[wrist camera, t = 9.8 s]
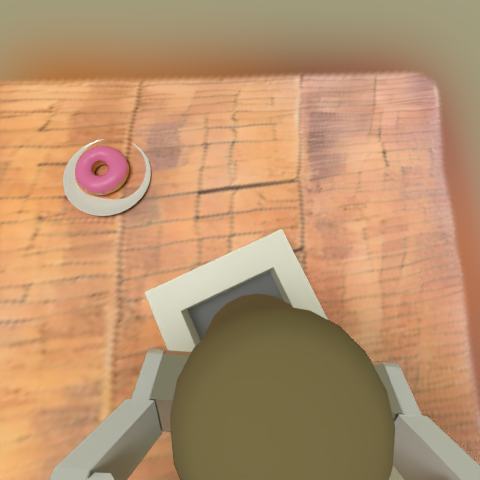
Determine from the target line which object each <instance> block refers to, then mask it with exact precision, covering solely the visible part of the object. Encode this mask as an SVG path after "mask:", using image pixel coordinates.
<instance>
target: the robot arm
mask: <svg viewBox="0 0 480 480" xmlns="http://www.w3.org/2000/svg"><path fill="white" fill-rule="evenodd" d="M190 354H191V352H187V351H172V350H159V349H149V351H148V352H147V354H146V357H145V360H144V363H143V366H142V368H141V371H140V374H139V377H138V380H137V383H136V386H135V389H134V392H133V395H132V398H131V399H125V400H124V401H123V402H122V403H121V404H120V405H119V406H118V407H117V408H116V409H115V410H114V411H113V412H112V413H111V414H110V415H109V416H108V417H107V418H106V419H105V420H104V421H103V422H102V423H101V424H100V425H99V426H98V427H97V428H96V429H94V430H93V431H92V432H91V433H90V434H89V435H88V436H87V437H86V438H85V439H84V440H83V441H82V442H81V443H80V444H79V445H78V446H77V447H76V448H75V449H74V450H73V451H72V452H71V453H70V454H69V455H68V456H67V457H66V458H65V459H64V460H62V461H61V462H60V463H59V464H58V465H57V466H56V467H55V469H54V471H53V473H52V475H51V477H50V479H49V480H127V479H128V478H129V476H130V475H131V474H132V472H133V471H134V470H135V468H136V467H137V466H138V464H139V463H140V462H141V460H142V459H143V458H144V456H145V455H146V454H147V452H148V451H149V450H150V448H151V447H152V446H153V444H154V443H155V442H156V440H157V439H158V438H159V436H160V435H161V434H162V432H171V428H170V413H171V408H172V403H173V398H174V393H175V387H176V382H177V379H178V377H179V375H180V373H181V371H182V369H183V367H184V365H185V363H186V362H187V360H188V358H189V356H190ZM371 362H372V364H373V366H374V368H375V370H376V371H377V373H378V375H379V377H380V379H381V381H382V382H383V384H384V386H385V388H386V390H387V393H388V397H389V402H390V406H391V411H392V415H393V420H394V424H395V441H394V455H393V465H394V466H395V468H396V469H397V470H398V472H399V473H400V474H401V476H402V477H403V478H404V480H480V465H479V464H478V463H477V462H476V461H474V460H473V459H472V458H471V457H470V456H469V455H468V454H467V453H466V452H465V451H464V450H463V449H462V448H461V447H460V446H459V445H458V444H456V443H455V442H454V441H453V440H452V439H451V438H450V437H449V436H448V435H447V434H446V433H445V432H444V431H443V430H442V429H441V428H439V427H438V426H437V425H436V424H435V423H434V422H433V421H432V420H431V419H430V418H429V417H428V416H422V414H421V411H420V409H419V407H418V405H417V403H416V400H415V398H414V396H413V394H412V392H411V389H410V387H409V385H408V383H407V381H406V378H405V376H404V374H403V372H402V369H401V367H400V366H399V365H398V364H397V363H394V362H379V361H371ZM161 431H162V432H161Z"/></svg>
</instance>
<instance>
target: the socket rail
mask: <svg viewBox="0 0 480 480" xmlns="http://www.w3.org/2000/svg"><path fill="white" fill-rule="evenodd" d="M258 293H259V294H265V295H270V296H275V297H277V298H279V299H281V300H283V301H285V302H287V303H289V304H290V305H291V306H292V307H293V308H298V309H304V310H310V311H312V312H314V313H316V314H318V315H320V316H321V317H323V318H325V319H327V317H326V315H325V313H324V311H323V309H322V307H321V305H320V303H319V301H318V299H317V297H316V295H315V293H314V291H313V289H312V287H311V285H310V283H309V281H308V280H307V278H306V276H305V274H304V272H303V270H302V268H301V266H300V264H299V262H298V260H297V258H296V256H295V254H294V252H293V250H292V248H291V246H290V244H289V242H288V240H287V238H286V236H285V234H284V232H283V230H282V229H280V230H278V231H276V232H274V233H272V234H270V235H267V236H265V237H263V238H261V239H259V240H257V241H254V242H252V243H250V244H248V245H246V246H244V247H241V248H239V249H237V250H235V251H233V252H231V253H228V254H226V255H224V256H222V257H220V258H218V259H215V260H213V261H211V262H209V263H207V264H205V265H202V266H200V267H198V268H196V269H194V270H192V271H189V272H187V273H185V274H183V275H181V276H179V277H176V278H174V279H172V280H170V281H168V282H166V283H164V284H161V285H159V286H157V287H155V288H153V289H151V290H148V291H146V292H145V295H146V297H147V300H148V302H149V305H150V307H151V310H152V312H153V315H154V317H155V320H156V322H157V325H158V327H159V330H160V332H161V334H162V337H163V339H164V342H165V344H166V347H167V349H168V350H172V351H187V352H192V350H193V348H194V347H195V346H196V345H197V344H198V343H199V342H200V341H201V340H202V339H203V338H204V337H205V334H206V330H207V329H208V327H209V325H210V323H211V321H212V319H213V317H214V315H215V314H216V313H217V312H218V311H219V310H220V309H221V308H222V307H223V306H225V305H226V304H227V303H229V302H230V301H232V300H234V299H236V298H238V297H240V296H244V295H251V294H258ZM327 320H328V319H327ZM389 480H404V478H403V477H402V476H401V474H400V473H399V472H398V470H397V469H396V468H395V466H394V465H393V468H392V472H391V475H390V478H389Z"/></svg>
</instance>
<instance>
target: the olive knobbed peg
mask: <svg viewBox="0 0 480 480" xmlns="http://www.w3.org/2000/svg"><path fill="white" fill-rule="evenodd" d="M170 428H171V438H172V449H173V459H174V465H175V468H176V470H177V473H178V475H179V478H180V480H389V478H390V475H391V472H392V468H393V455H394V441H395V424H394V420H393V415H392V411H391V406H390V402H389V397H388V393H387V390H386V388H385V386H384V384H383V382H382V381H381V379H380V377H379V375H378V373H377V371H376V370H375V368H374V366H373V364H372V362H371V360H370V359H369V357H368V355H367V354H366V352H365V351H364V350H363V349H362V348H361V347H360V346H359V345H358V344H357V343H356V342H355V341H354V340H353V339H352V338H351V337H350V336H349V335H348V334H347V333H346V332H345V331H344V330H343V329H342V328H341V327H340V326H339V325H337V324H335V323H333V322H331V321H329V320H327V319H325V318H323V317H321V316H320V315H318V314H316V313H314V312H312V311H310V310H304V309H298V308H293V307H292V306H291V305H290V304H289V303H287V302H285V301H283V300H281V299H279V298H277V297H275V296H270V295H265V294H259V293H258V294H251V295H244V296H240V297H238V298H236V299H234V300H232V301H230V302H229V303H227V304H226V305H225V306H223V307H222V308H221V309H220V310H219V311H218V312H217V313H216V314H215V315H214V317H213V319H212V321H211V323H210V325H209V327H208V329H207V330H206V334H205V337H204V338H203V339H202V340H201V341H200V342H199V343H198V344H197V345H196V346H195V347H194V348H193V350H192V352H191V354H190V356H189V358H188V360H187V362H186V363H185V365H184V367H183V369H182V371H181V373H180V375H179V377H178V379H177V382H176V387H175V393H174V398H173V403H172V408H171V413H170Z"/></svg>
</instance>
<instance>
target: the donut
mask: <svg viewBox="0 0 480 480" xmlns="http://www.w3.org/2000/svg"><path fill="white" fill-rule="evenodd" d="M101 140H103V139H101ZM97 141H100V140H97ZM97 141H94V142H92V143H89V144H87V145H86V146H84V147H82V148H81V149H80V150H79V151H77V152H76V153H75V154H74V155H73V157H72V158H71V159H70V161H69V162H68V164H67V166H66V168H65V172H64V176H63V186H64V191H65V193H66V196H67V198H68V199H69V201H70V202H71V203H72V204H73V205H74V206H75V207H76V208H77V209H79V210H81V211H82V212H84V213H87V214H90V215H95V216H109V215H114V214H118V213H121V212H123V211H125V210H127V209H129V208H130V207H132V206H133V205H135V204H136V203H137V202H138V201H139V200H140V199H141V198H142V196H143V195H144V193H145V192H146V190H147V188H148V186H149V183H150V178H151V167H150V163H149V160H148V158H147V156H146V155H145V153H144V152H143V151H142V150H141V149H140V148H139V147H138V146H136V145H135V144H133V143H132V144H133V145H135V146H136V147H137V148H138V149H139V150H140V152H141V153H142V155H143V157H144V160H145V163H146V174H145V178H144V181H143V183H142V185H141V186H140V188H139V189H138V190H137V191H136V192H135V193H134V194H132V195H131V196H129V197H127V198H124V199H119V200H114V199H104V198H98V197H93V196H90V195H87V194H86V193H84V192H83V191H82V190H81V189H80V188H79V186H78V185H77V183H76V180H75V176H76V179H77V181H78V183H79V184H80V186H81V187H82V188H83V189H84V190H86V191H88V192H90V193H92V194H95V195H106V194H110V193H112V192H115V191H116V190H118V189H119V188H120V187H121V186H122V185H123V184H124V183H125V181H126V180H127V177H128V174H129V165H128V162H127V159H126V158H125V157H124V156H123V155H122V154H121V153H120V152H119V151H118V150H117V149H114V148H111V147H108V146H97V147H94V148H91V149H89V150H87V151H86V152H85V153H83V151H84V150H85V149H87V148H88V147H89V146H90V145H92V144H94V143H95V142H97ZM82 153H83V154H82ZM81 154H82V156H81V157H80V155H81ZM79 157H80V159H79V160H78V158H79ZM77 161H78V163H77ZM76 163H77V165H76ZM101 165H108V171H107V173H106V174H104V175H102V176H96V175H95V170H96V169H97V168H98V167H99V166H101ZM75 166H76V168H75Z"/></svg>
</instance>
